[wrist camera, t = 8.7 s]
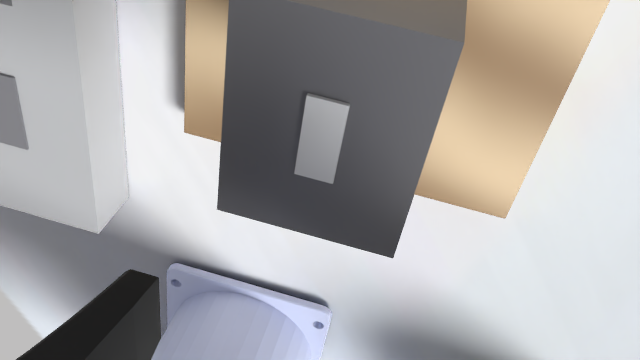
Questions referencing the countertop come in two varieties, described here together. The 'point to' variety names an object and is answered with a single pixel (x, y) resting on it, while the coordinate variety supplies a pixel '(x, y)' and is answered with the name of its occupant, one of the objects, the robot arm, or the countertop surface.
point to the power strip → (62, 111)
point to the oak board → (449, 92)
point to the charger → (334, 112)
